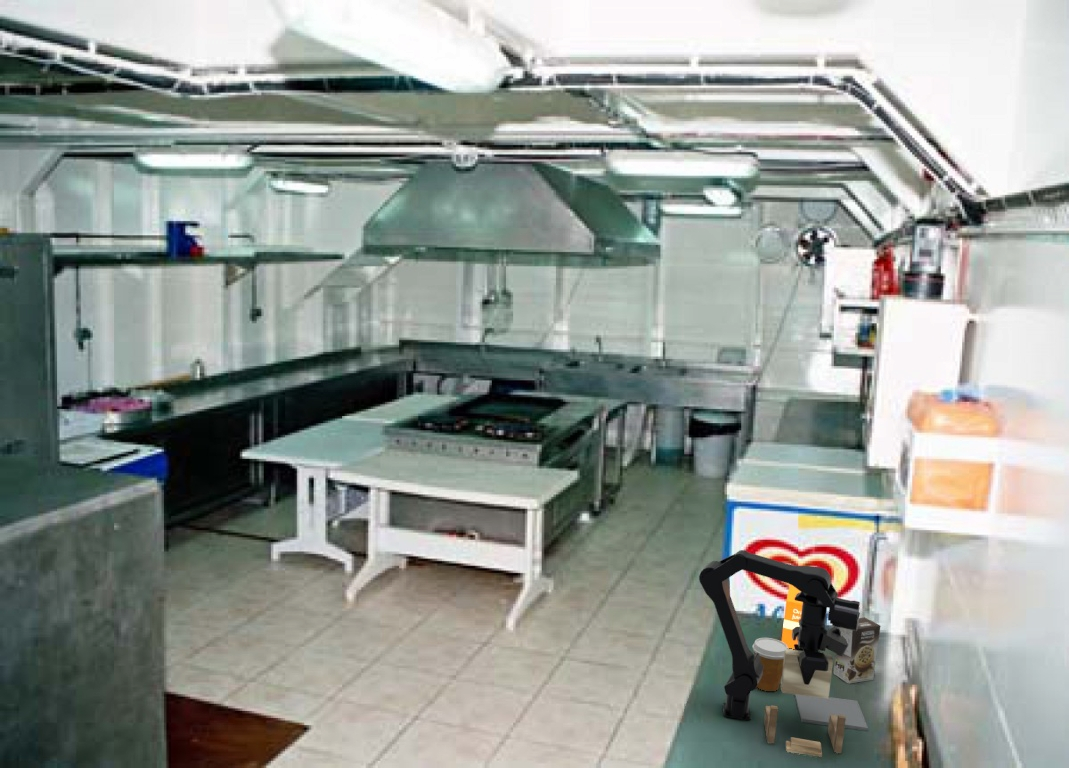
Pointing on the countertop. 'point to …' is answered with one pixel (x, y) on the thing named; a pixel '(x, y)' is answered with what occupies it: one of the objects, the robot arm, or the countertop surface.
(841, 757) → the countertop surface
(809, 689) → the cream flat block
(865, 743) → the countertop surface
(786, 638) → the orange juice
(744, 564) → the robot arm
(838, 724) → the light wood rack
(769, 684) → the disposable coffee cup
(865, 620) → the cookie box
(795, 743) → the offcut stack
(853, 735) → the countertop surface
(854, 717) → the rubber mat
